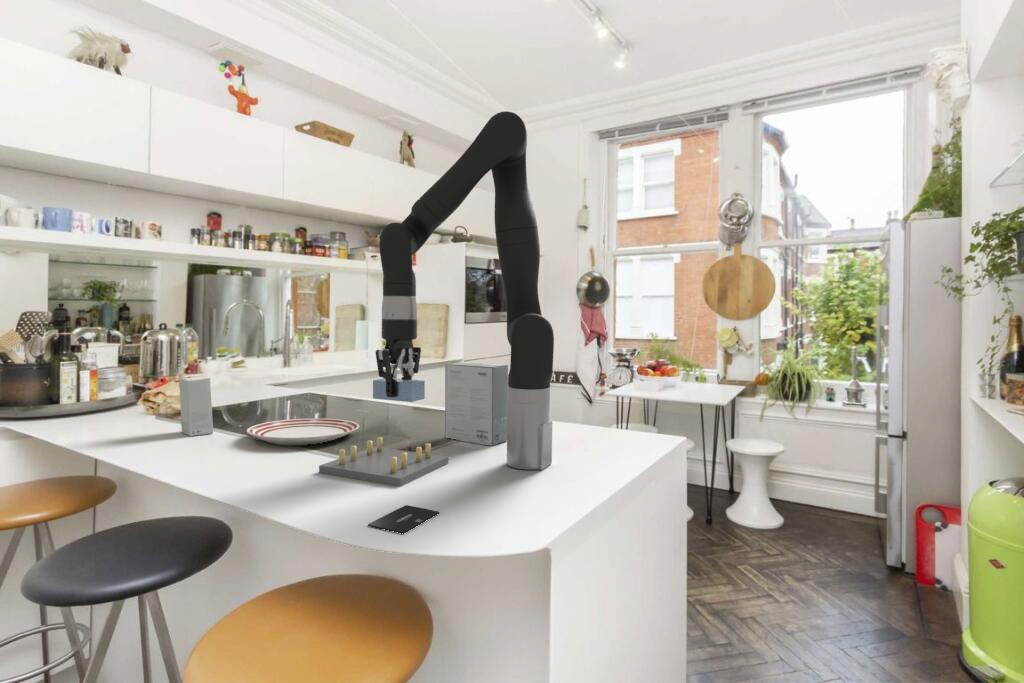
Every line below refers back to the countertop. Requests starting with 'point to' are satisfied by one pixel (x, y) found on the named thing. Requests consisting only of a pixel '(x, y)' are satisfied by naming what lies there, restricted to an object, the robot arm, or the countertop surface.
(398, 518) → the solid state drive
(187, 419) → the skincare box
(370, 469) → the grey peg board
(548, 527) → the countertop surface
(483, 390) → the hard drive box
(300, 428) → the dinner plate
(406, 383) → the blue block
